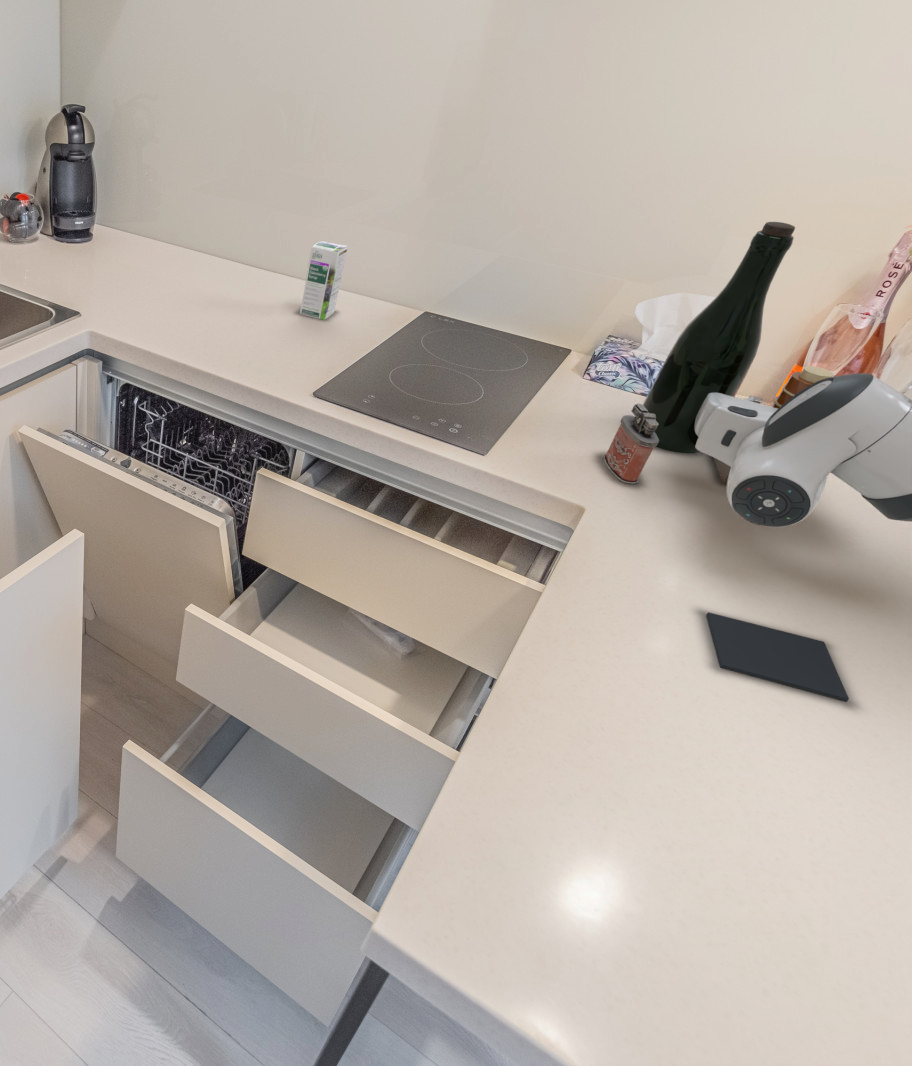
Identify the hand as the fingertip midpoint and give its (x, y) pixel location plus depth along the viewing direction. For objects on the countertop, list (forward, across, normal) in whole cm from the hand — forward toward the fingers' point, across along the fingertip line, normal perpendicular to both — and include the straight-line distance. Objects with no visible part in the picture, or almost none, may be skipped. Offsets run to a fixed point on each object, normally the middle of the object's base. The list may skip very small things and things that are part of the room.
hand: (794, 412), depth 104 cm
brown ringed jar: (+1, 0, +6) cm, 6 cm away
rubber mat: (-42, -6, +11) cm, 44 cm away
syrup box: (+15, +79, +12) cm, 82 cm away
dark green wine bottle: (+6, +12, +12) cm, 18 cm away
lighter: (-11, +15, +12) cm, 22 cm away
